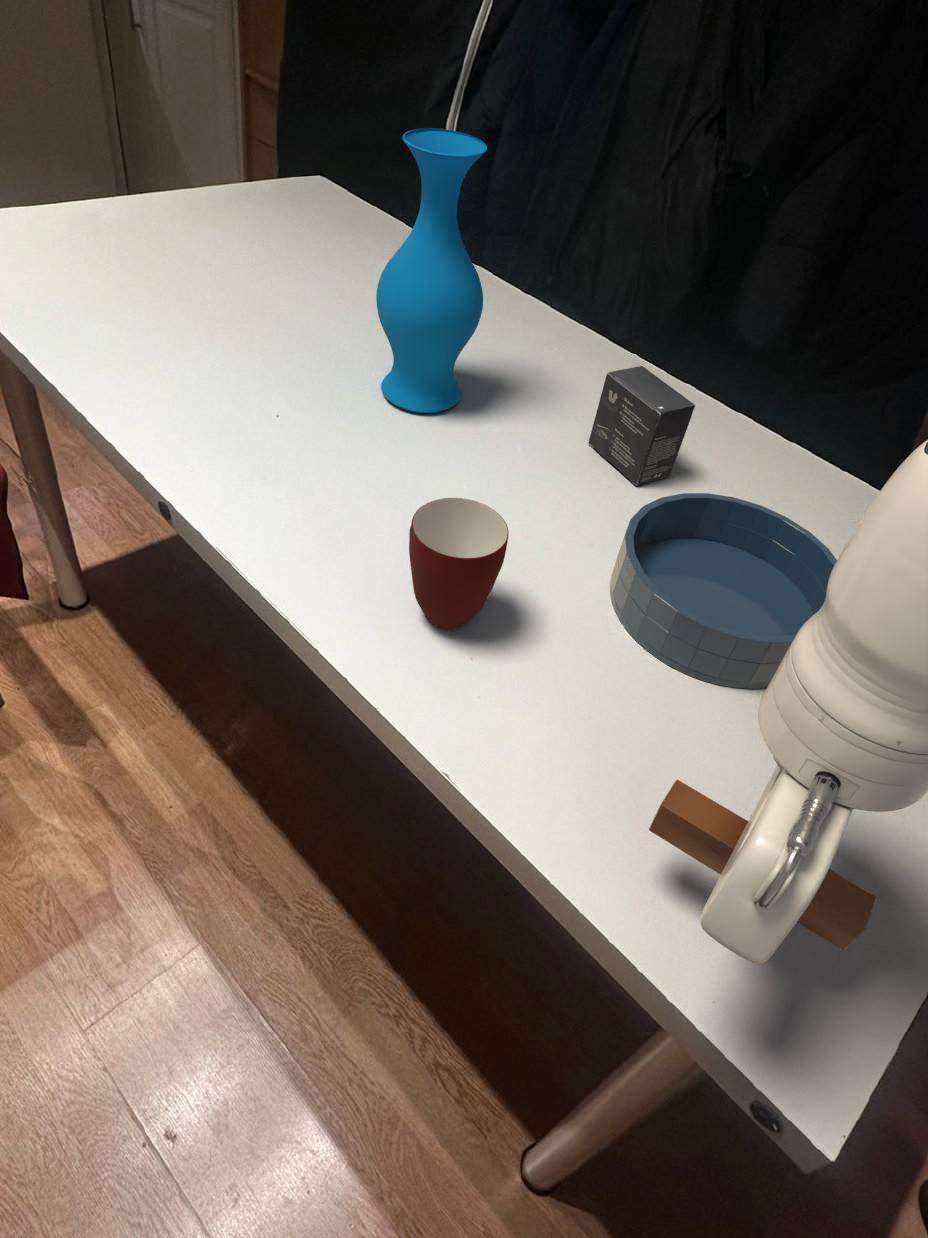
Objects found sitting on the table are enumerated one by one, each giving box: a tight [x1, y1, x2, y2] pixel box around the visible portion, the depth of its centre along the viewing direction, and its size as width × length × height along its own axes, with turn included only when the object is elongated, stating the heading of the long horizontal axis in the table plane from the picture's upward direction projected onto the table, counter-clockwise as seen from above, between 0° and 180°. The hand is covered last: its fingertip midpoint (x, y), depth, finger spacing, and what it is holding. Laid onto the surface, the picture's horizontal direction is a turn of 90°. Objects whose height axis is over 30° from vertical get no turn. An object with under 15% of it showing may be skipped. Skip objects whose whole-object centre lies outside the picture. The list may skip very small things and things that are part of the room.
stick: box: [648, 779, 877, 952], centre depth 51 cm, size 13×2×3 cm, turn 55°
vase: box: [375, 127, 488, 414], centre depth 91 cm, size 12×13×28 cm
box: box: [587, 365, 696, 486], centre depth 93 cm, size 9×6×10 cm, turn 31°
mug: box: [408, 497, 509, 630], centre depth 71 cm, size 11×8×10 cm
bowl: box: [609, 492, 838, 690], centre depth 77 cm, size 21×21×6 cm
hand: (758, 860), depth 51 cm, fingers closed on stick, 2 cm apart
